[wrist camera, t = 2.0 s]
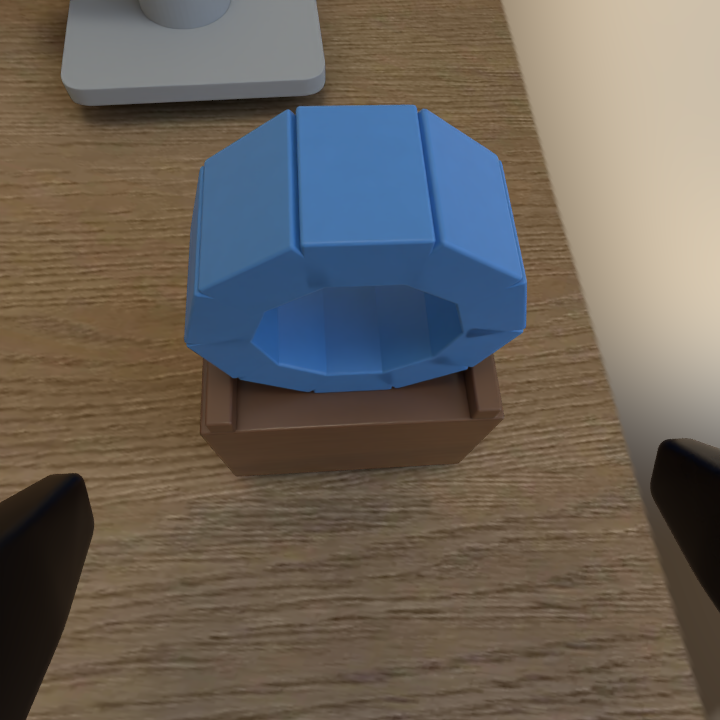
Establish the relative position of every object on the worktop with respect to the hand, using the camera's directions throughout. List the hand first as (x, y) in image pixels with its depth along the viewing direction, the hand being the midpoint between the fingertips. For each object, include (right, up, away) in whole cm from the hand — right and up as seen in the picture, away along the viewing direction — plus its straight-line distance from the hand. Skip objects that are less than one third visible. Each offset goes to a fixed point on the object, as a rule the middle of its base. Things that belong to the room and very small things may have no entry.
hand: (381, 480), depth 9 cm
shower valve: (-10, +20, +21) cm, 30 cm away
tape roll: (-1, +2, +7) cm, 8 cm away
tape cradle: (-1, 0, +13) cm, 13 cm away
